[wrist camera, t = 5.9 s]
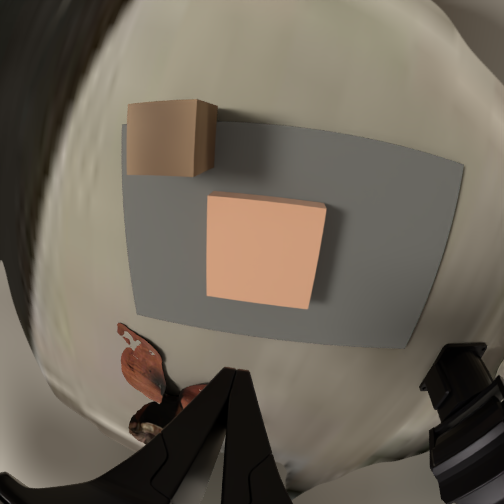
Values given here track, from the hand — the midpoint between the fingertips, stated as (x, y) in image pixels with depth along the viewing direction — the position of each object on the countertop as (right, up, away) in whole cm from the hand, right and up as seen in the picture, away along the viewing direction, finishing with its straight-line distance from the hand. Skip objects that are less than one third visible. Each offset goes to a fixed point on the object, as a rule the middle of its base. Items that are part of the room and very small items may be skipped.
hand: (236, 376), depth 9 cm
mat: (+3, +4, +11) cm, 12 cm away
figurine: (-8, -9, +19) cm, 23 cm away
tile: (+5, +4, +9) cm, 11 cm away
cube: (-4, +11, +8) cm, 14 cm away
